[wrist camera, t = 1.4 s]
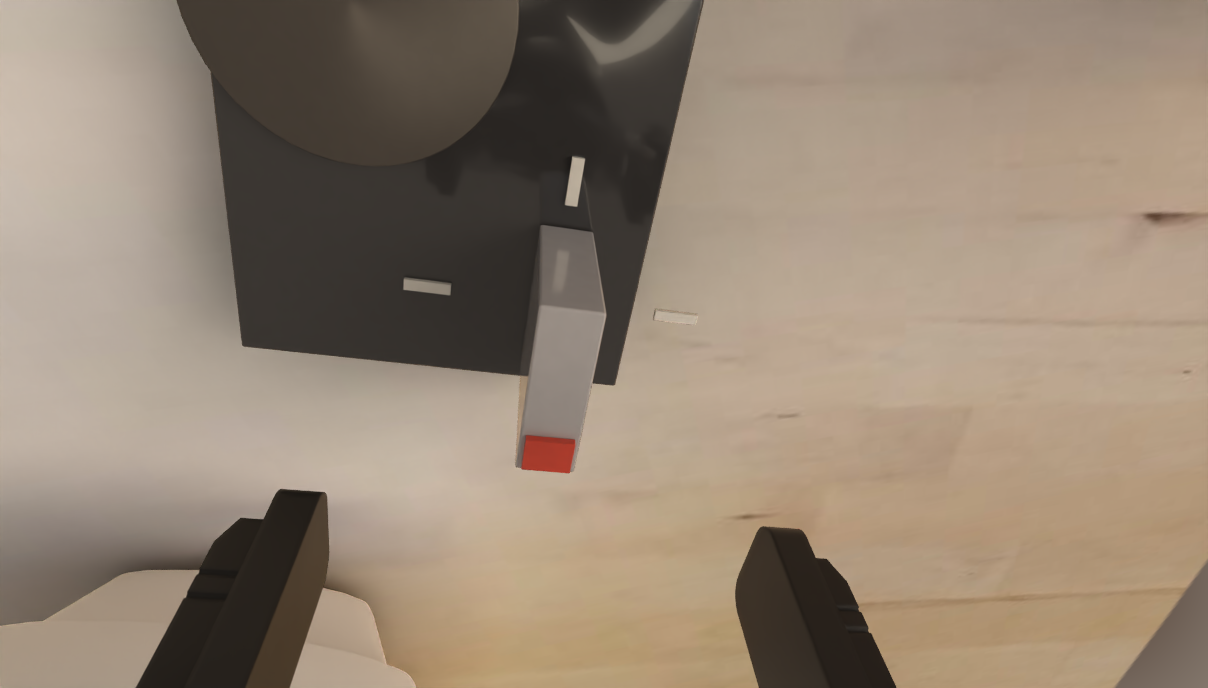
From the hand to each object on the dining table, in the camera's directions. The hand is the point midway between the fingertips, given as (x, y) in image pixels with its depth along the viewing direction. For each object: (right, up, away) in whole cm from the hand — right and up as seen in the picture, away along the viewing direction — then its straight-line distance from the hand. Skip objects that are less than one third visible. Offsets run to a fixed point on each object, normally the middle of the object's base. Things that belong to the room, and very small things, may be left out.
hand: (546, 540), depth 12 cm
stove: (-2, +10, +8) cm, 13 cm away
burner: (-5, +12, +4) cm, 14 cm away
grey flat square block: (0, +5, +8) cm, 10 cm away
